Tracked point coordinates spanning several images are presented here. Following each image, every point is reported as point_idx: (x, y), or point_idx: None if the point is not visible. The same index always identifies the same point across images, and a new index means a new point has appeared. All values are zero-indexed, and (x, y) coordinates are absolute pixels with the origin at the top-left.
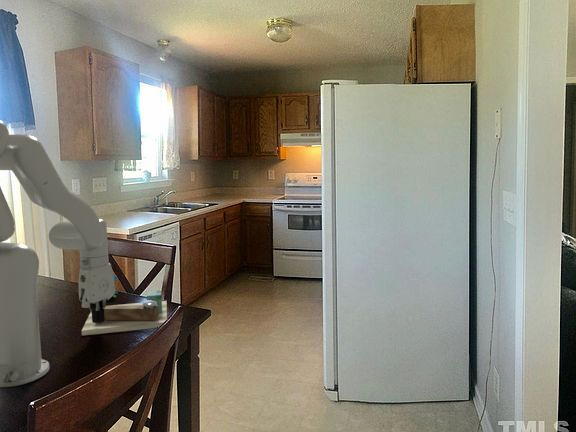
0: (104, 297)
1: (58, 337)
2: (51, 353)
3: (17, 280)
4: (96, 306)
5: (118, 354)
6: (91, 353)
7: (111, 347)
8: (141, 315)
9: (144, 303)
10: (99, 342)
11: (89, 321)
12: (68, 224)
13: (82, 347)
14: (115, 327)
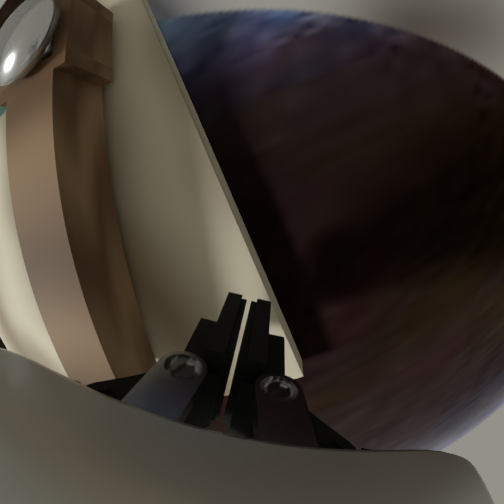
0: (219, 455)
1: None
2: (472, 356)
3: None
4: (307, 420)
5: (488, 71)
6: (497, 194)
7: (444, 122)
8: (94, 71)
9: (10, 69)
10: (394, 218)
11: None
12: None
13: (446, 273)
14: (227, 200)
